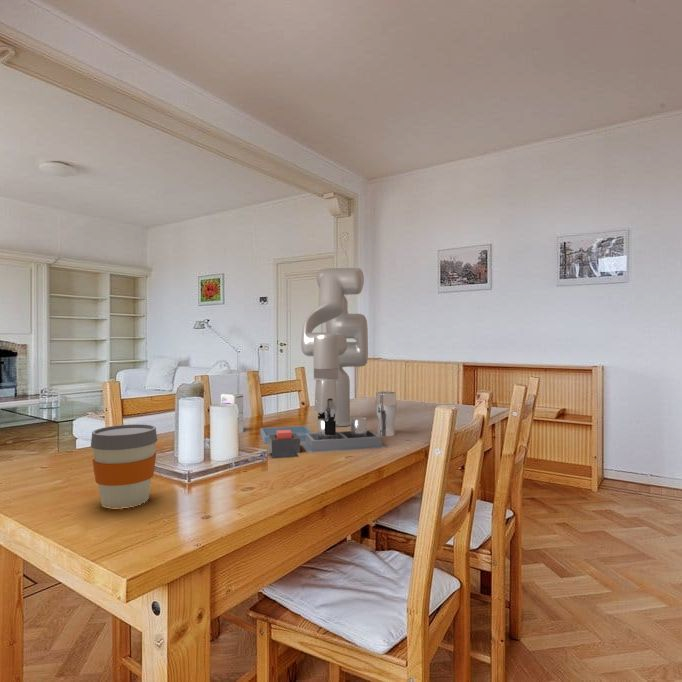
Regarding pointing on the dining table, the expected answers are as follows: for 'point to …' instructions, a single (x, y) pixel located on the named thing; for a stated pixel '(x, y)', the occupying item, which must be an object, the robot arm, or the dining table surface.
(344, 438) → the grey divided tray
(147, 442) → the reusable coffee cup
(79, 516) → the dining table surface
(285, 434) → the button
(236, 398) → the syrup box
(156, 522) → the dining table surface
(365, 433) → the seated billet
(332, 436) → the billet
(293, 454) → the box
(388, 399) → the beer glass
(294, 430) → the tray
